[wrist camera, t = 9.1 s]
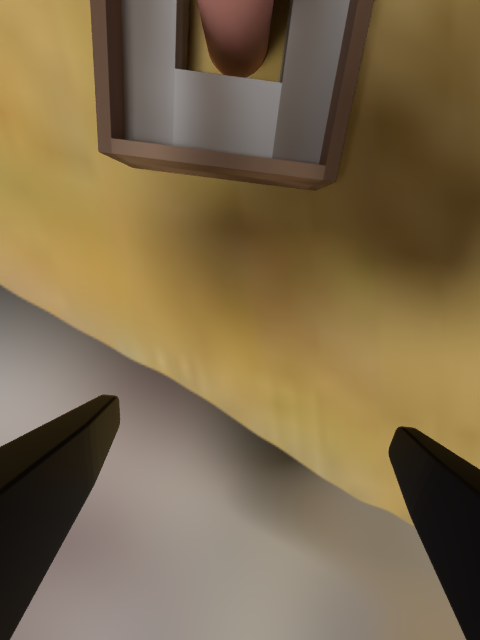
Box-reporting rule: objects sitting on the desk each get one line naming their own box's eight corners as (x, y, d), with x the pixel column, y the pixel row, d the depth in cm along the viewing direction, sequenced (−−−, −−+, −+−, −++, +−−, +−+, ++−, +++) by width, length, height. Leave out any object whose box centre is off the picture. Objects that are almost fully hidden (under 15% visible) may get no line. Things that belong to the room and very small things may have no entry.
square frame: (376, -133, 12) (436, -293, 8) (314, 190, 16) (335, 181, 13) (126, -171, 12) (70, -354, 8) (132, 167, 16) (98, 151, 12)
